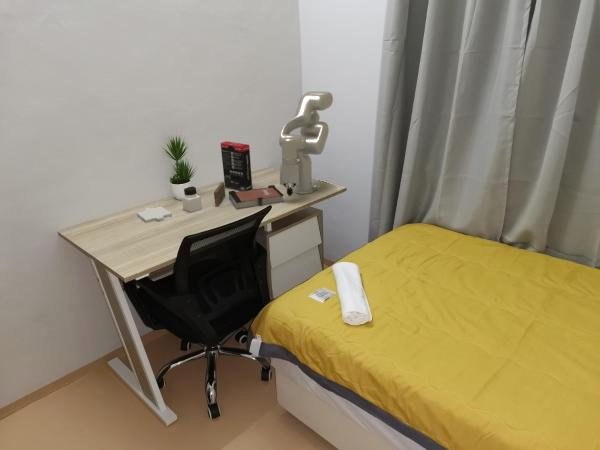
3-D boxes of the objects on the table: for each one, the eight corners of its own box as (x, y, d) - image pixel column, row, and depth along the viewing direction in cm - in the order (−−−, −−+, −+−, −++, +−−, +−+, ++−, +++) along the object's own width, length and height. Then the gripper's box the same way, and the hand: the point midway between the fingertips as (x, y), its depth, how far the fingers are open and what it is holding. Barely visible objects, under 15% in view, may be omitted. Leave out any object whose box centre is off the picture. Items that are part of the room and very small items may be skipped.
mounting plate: (135, 214, 205) (134, 211, 204) (160, 208, 212) (159, 204, 211) (148, 225, 192) (147, 221, 191) (174, 218, 200) (173, 214, 199)
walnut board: (225, 195, 227) (224, 182, 224) (218, 206, 212) (216, 192, 208) (222, 195, 227) (221, 182, 224) (215, 206, 212) (213, 192, 209)
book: (236, 210, 207) (236, 201, 205) (229, 199, 222) (228, 191, 220) (284, 203, 216) (283, 194, 214) (273, 193, 231) (273, 184, 229)
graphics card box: (253, 189, 237) (250, 143, 226) (246, 192, 231) (242, 146, 220) (231, 184, 245) (227, 140, 234) (223, 187, 240) (219, 142, 229)
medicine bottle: (202, 208, 209) (199, 187, 204) (190, 212, 205) (187, 190, 200) (194, 205, 214) (191, 184, 209) (183, 209, 209) (179, 187, 204)
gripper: (304, 160, 210) (304, 193, 217) (275, 159, 211) (276, 193, 218) (303, 163, 203) (303, 197, 210) (274, 163, 204) (275, 197, 211)
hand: (289, 195), depth 214 cm, fingers closed
